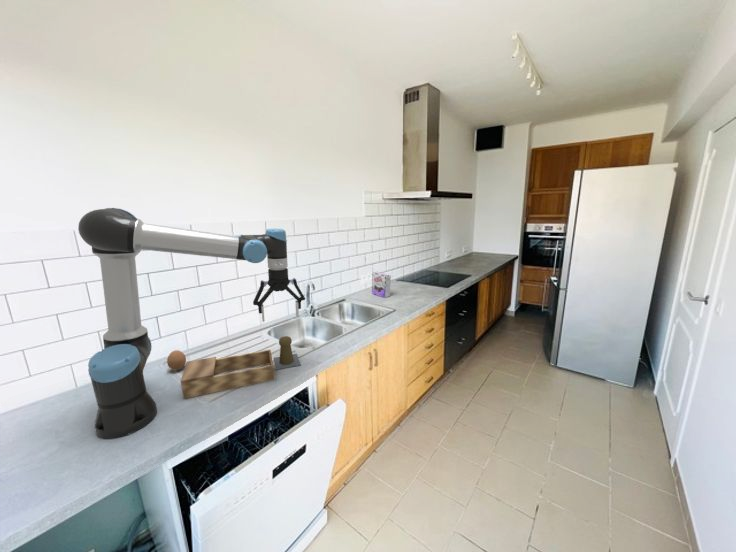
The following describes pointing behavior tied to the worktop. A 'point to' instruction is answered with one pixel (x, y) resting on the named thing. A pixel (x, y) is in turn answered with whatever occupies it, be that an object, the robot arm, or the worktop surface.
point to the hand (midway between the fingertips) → (280, 318)
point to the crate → (203, 381)
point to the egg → (176, 360)
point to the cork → (285, 351)
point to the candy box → (381, 284)
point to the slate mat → (294, 364)
